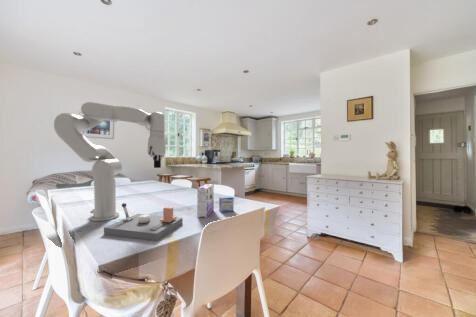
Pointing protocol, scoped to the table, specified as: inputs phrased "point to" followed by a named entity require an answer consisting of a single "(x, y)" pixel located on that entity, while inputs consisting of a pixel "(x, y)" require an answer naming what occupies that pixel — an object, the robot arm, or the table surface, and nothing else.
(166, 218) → the block
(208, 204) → the candy box
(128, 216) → the toggle lever
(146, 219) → the push button
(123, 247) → the table surface
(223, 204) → the medicine box
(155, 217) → the control board
